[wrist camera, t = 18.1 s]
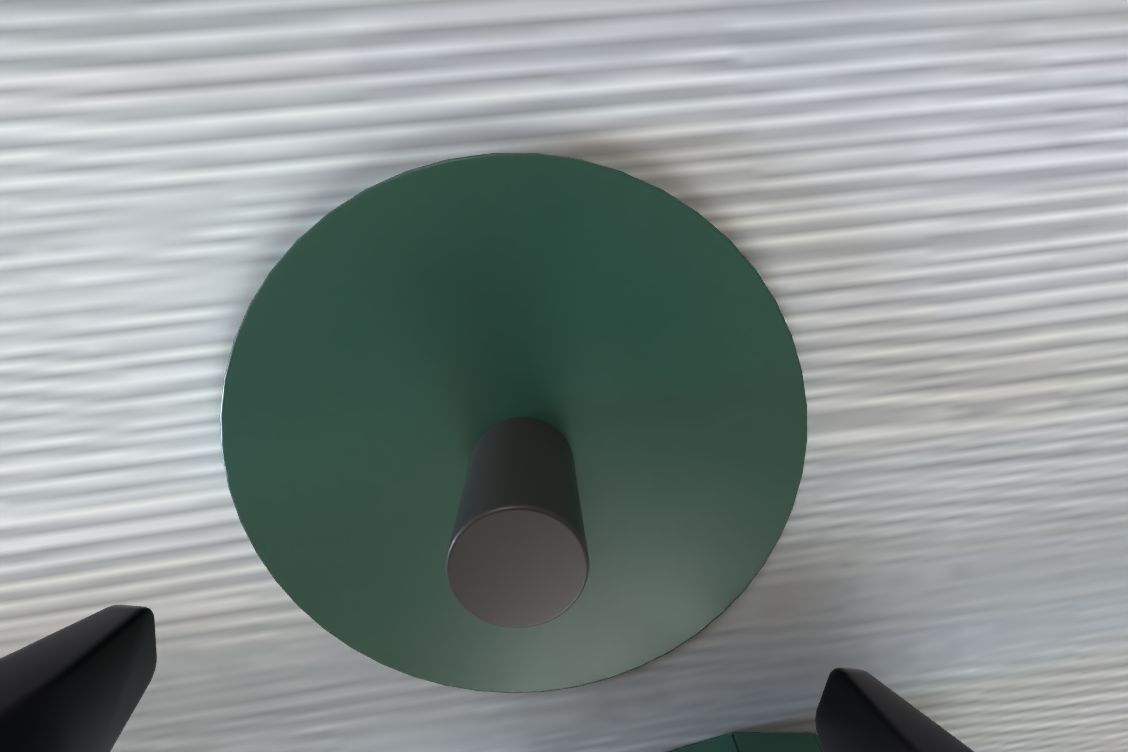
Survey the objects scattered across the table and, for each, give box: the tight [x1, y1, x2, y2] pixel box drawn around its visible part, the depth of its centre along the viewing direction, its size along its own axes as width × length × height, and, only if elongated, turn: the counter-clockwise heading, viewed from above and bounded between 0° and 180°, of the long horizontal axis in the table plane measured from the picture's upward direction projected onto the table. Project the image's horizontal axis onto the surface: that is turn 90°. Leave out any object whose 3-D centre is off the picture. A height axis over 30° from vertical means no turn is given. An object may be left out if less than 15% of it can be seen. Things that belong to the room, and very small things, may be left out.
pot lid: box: [220, 153, 807, 693], centre depth 11 cm, size 14×14×4 cm
